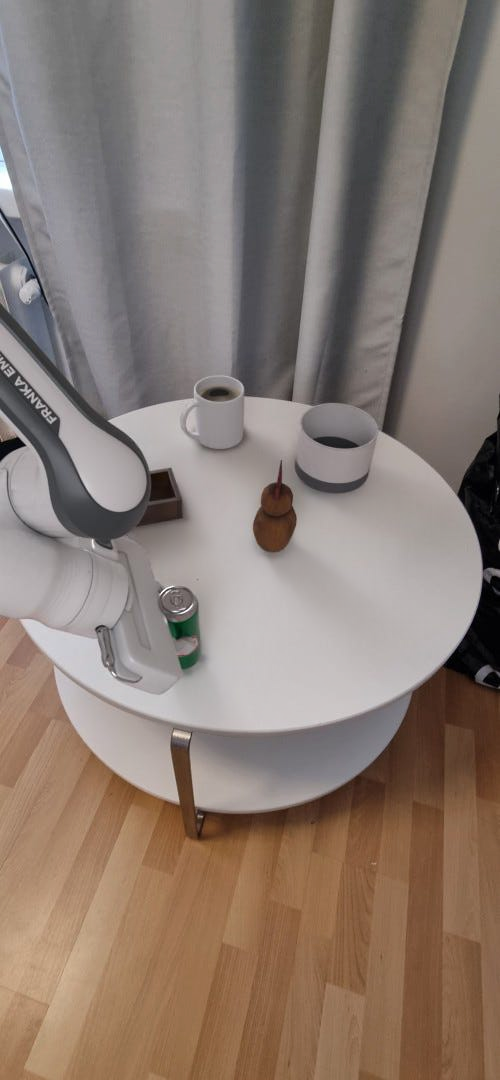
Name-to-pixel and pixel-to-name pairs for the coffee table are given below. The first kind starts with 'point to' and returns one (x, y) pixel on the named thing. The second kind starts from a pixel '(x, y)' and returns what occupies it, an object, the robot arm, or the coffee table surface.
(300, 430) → the planter
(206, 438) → the mug
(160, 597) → the soda can
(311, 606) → the coffee table surface
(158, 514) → the holder
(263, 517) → the wooden figurine
